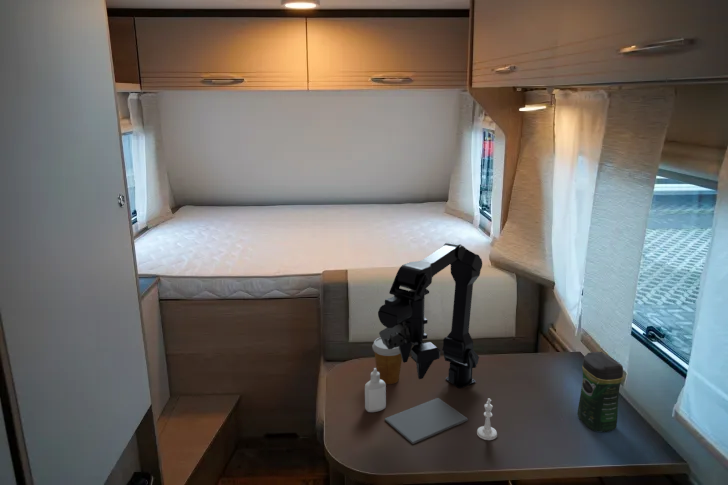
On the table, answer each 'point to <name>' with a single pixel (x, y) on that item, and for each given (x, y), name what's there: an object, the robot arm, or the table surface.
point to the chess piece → (487, 424)
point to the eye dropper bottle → (375, 393)
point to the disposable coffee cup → (387, 362)
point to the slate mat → (425, 420)
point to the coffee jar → (600, 392)
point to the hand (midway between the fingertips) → (412, 370)
